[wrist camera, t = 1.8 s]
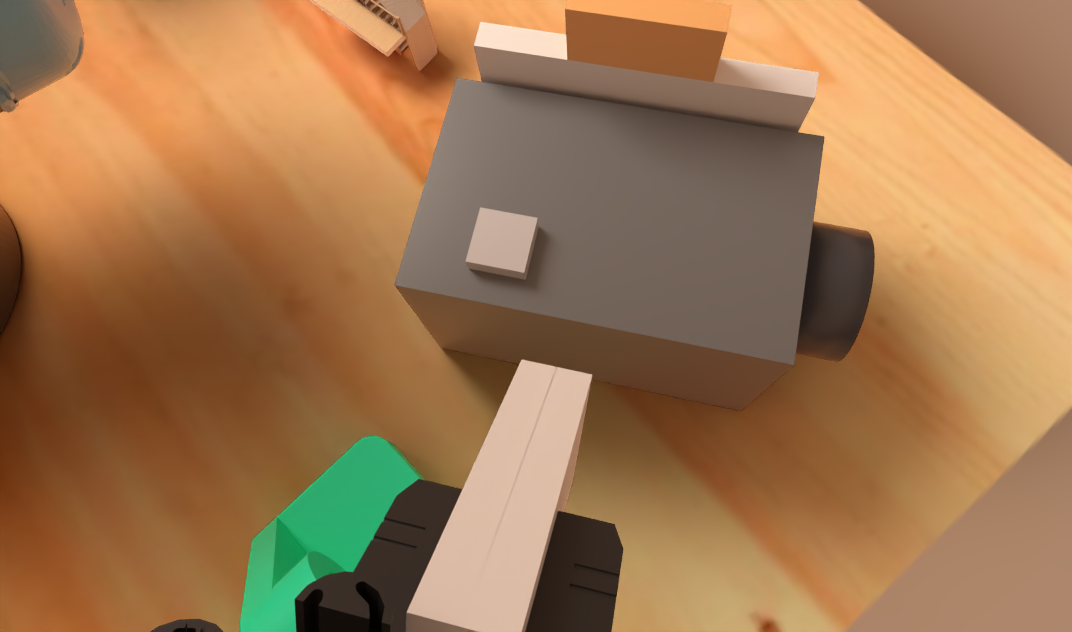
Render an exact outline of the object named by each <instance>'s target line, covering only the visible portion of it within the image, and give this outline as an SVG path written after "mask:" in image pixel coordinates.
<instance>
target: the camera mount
mask: <svg viewBox="0 0 1072 632" xmlns="http://www.w3.org/2000/svg"><path fill="white" fill-rule="evenodd" d="M418 479H421V480H425V479H424V478H423V476H422V475H421V474H420V473H419V472H418V471H417V470H416V469H415V468H414V466H413V465H412V464H411V463H410V462H409V461H408V460H407V459H406V457H405V456H404V455H403V454H402V453H401V452H400V451H399V450H398V449H397V447H396V446H395V445H394V444H392V443H391V442H389V441H387V440H385V439H383V438H381V437H378V436H367V437H364V438H362V439H360V440H359V441H357V442H356V443H355V444H354V445H353V446H352V447H351V448H350V449H349V450H348V451H347V452H346V453H344V454H343V455H342V456H341V457H340V458H339V459H338V460H337V461H336V462H335V463H334V464H333V465H332V466H331V467H329V468H328V469H327V470H326V471H325V472H324V473H323V474H322V475H321V476H320V477H319V478H318V479H317V480H315V481H314V482H313V483H312V484H311V485H310V486H309V487H308V488H307V489H306V490H305V491H304V492H303V493H302V494H300V495H299V496H298V497H297V498H296V499H295V500H294V501H293V502H292V503H291V504H290V505H289V506H288V507H287V508H285V509H284V510H283V511H282V512H281V513H280V514H279V515H278V516H277V517H276V518H275V519H274V520H273V521H272V522H270V523H269V524H268V525H267V526H266V527H265V528H264V529H263V530H262V531H261V532H260V533H259V534H258V535H257V536H255V537H254V538H253V539H252V543H251V550H250V557H249V564H248V571H247V577H246V584H245V591H244V598H243V605H242V612H241V619H240V632H296V616H295V600H294V599H295V598H296V597H297V596H298V595H299V594H300V592H301V591H302V590H303V589H304V588H305V587H306V586H307V585H308V584H310V583H312V582H314V581H316V580H318V579H319V578H321V577H323V576H325V575H330V574H334V573H339V572H344V571H345V572H353V571H354V570H355V568H356V566H357V564H358V563H359V561H360V559H361V557H362V556H363V554H364V552H365V550H366V549H367V547H368V545H369V543H370V542H371V540H373V538H374V535H375V533H376V531H377V529H378V528H379V526H380V524H381V522H383V521H384V517H385V515H386V513H387V512H388V510H389V508H390V506H391V505H392V503H393V501H394V499H395V498H396V496H397V495H398V494H399V493H401V492H402V491H403V490H405V489H406V488H407V487H409V486H410V485H411V484H413V483H414V482H415V481H417V480H418ZM425 481H426V480H425Z"/></svg>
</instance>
